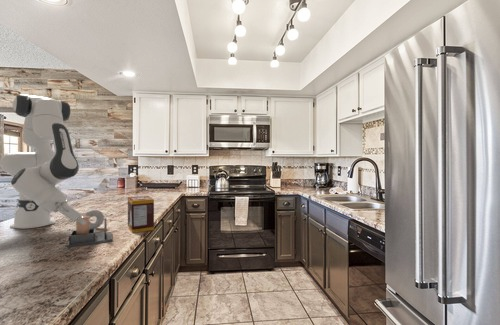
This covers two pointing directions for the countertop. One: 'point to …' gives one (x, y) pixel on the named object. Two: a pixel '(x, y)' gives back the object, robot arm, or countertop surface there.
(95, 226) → the grey ring
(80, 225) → the wooden block
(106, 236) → the grey tape dispenser
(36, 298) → the countertop surface
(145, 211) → the supplement box
